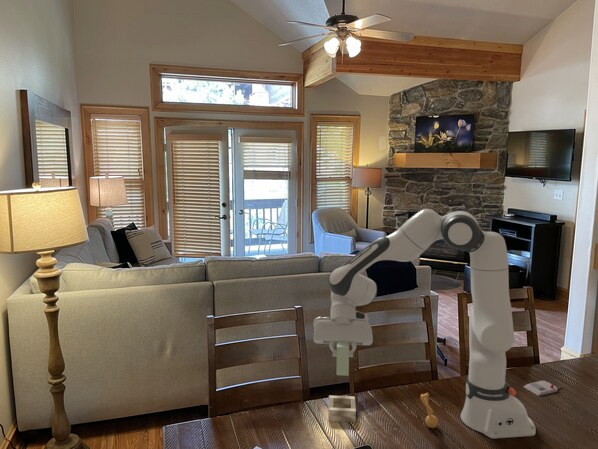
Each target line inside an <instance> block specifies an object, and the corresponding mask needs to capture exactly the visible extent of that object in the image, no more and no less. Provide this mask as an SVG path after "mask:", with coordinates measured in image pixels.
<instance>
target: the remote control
mask: <svg viewBox="0 0 598 449" xmlns="http://www.w3.org/2000/svg"><path fill="white" fill-rule="evenodd" d="M523 388H524V389H525V388H526V389H525V390H527V391H529V392H530V391H531V393H533V394H534V395H535V394H536V396H537V397H540V396H544V395H548V394H552V393H556V392H559V391H558V390H559V389H560V388H563V385H562V386H557V385H556V386H555V385H554V384H552V383H551V382H548V381H545V380H539V381H536V382H531V383H527V384H525V385H524V386H523Z"/></svg>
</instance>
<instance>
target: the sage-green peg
mask: <svg viewBox="0 0 598 449" xmlns="http://www.w3.org/2000/svg"><path fill="white" fill-rule="evenodd" d="M336 350H337V357H336V376H346V377H348V376H349V372H350V369H349V367H350V357H349V350H350V345H349V342H337V344H336Z"/></svg>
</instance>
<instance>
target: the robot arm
mask: <svg viewBox="0 0 598 449" xmlns="http://www.w3.org/2000/svg"><path fill="white" fill-rule="evenodd" d="M439 240H444V242H445V243H446V244H447V245H448V246H450V247H451V248H453V249H456V250H460V251H464V252H466V253H467V252H468V253H469V257H470V258H469V260H470V262H469V264H470V291H471V292H470V293H471V301H472V305H471V307H470V309H469V313H468V314H469V315H468V342H469V343H468V344H469V345H468V346H469V348H468V349H469V360H468V361H469V362H468V375H467V377H466V383H465V394H466V395H465V400H464V405H463V408H462V411H461V413H460V419H461V421H462V422H463V423H464V424H465V425H466V426H467V427H469V428H470V429H472V430H474V431H477V432H479V433H481V434H484V435H485V436H487V437H488V438H490V439H506V438H518V437H521V438H522V437H534V436H535V435H536V433H537V432H536V429H537V428H536V426H535V424H534V422H533V420H532V419H531V418H530V416H528V412H527V409H526V408H525V405H524V404H523V403H522V402H521V400H520V399H518V398H516V396H517V391H516V390H515V389H514V388H513V387H511V385H510V384H509V383H508V382H507V381H506V373H507V356H506V352H508V351H509V350H510V349H511V348H513V346H514V343H515V330H514V322H513V312H512V304H511V299H510V285H509V284H510V283H509V280H510V278H509V277H510V276H509V257H508V256H509V255H508V250H507V244H506V240H505V238H504V236H503V235H501V234H500V233H498V232H495V231H485V230H482V229H481V226H480V225H479V222H478V220H477V219H476V217H475V216H474V214H473V213H471V212H470V211H468V210H465V209H457V210H451V211H449V212H445V213H442V214H439V213H437V212H436V211H435V210H432V209H431V208H423V209H421V210H419V211H417V213H415V214H414V215H412V216H411V217H410V218H409V219H407V220H406V221H405V222H404V223H403V224H402V225H400V227H398V229H397V230H395V231H394V232H392V233H389V235H386V236H381V237H379V238H376V239H375V240H373V241H371V243H369V244H368V245H366V246H365V247H364V248H363V249H361V250H360V251H358V252H357V253H356V254H355V255H354V256H352V257H351V258H350V259H349V260H347V261H345V262H344V263H343V264H340V265H339V266H337V267H335V268H334V269H333V270H332V271H331V272H330V274H329V278H328V285H329V288H330V301H331V306H330V316H325V317H322V316H318V317H316V318H315V319H314V320H313V321H312V322H313V323H312V326H313V328H314V331H313V342H314V343H315V344H319V345H320V344H323V345H324V344H325V345H329V349H330V351H331V352H332V357H336V358H337V349H335V348H334V345H337V342H349V346H350V345H351V350H350V349H349V358H354V352H355V350H356V348H357V346H371V345H372V344H373V343H374V342H373V340H374V339H373V330H372V326H371V324H370V322H369V315H368V313H365V312H361V311H359V310H356V308H357V307H362V306H365V305H369V304H371V303H372V302H374V301H375V299H376V297H377V295H378V294H377V293H378V285H377V283H376V282H375V281H374V280H373V279H371V278H369V277H367V276H365V275H363V274H362V273H363V272H364V271H365V270H367V269H369V267H371V266H372V265H373V264H375V263H376V262H379V261H396V262H403V263H404V262H407V263H408V262H411V261H414V260H416V259H417V258H418V257H420V256H421V255H422V254H423V253H424V252H425V251H426V250H427V249H428V248H429V247H430V246H431V245H433V243H435V242H436V241H439Z"/></svg>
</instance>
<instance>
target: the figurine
mask: <svg viewBox="0 0 598 449" xmlns="http://www.w3.org/2000/svg"><path fill="white" fill-rule="evenodd" d="M429 396H430V394H429V392H426V393H421V394H420V397H419V398H420V401H421V402H422V403H423V405H424V406H425V407H426V413H427V416H426V417H425V419H424V420H425V421H424V422H425V425H426V426H427V427H428V428H429V429H435V428H437V427H438V425H439V420H438V418H437V416H435V415H434V412H433V408H432V407H431V405H430V404H429V400H430V399H429Z"/></svg>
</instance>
